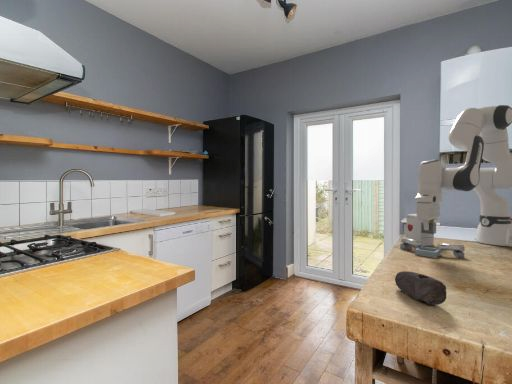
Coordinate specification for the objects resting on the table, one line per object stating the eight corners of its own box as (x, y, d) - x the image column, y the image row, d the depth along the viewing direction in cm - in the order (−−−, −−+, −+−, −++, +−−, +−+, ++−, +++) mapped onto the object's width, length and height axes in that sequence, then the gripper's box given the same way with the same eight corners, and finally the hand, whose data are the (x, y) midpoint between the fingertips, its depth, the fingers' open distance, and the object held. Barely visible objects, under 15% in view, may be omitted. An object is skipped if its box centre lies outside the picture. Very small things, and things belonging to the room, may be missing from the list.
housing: (420, 251, 125) (420, 246, 125) (440, 254, 120) (440, 249, 120) (414, 254, 120) (415, 249, 120) (435, 258, 114) (435, 252, 114)
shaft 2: (440, 256, 117) (440, 244, 116) (436, 254, 121) (436, 242, 121) (465, 258, 114) (465, 246, 114) (460, 255, 118) (460, 244, 118)
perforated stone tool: (388, 288, 82) (389, 265, 82) (403, 286, 84) (404, 264, 83) (431, 311, 68) (432, 283, 68) (448, 308, 69) (449, 281, 69)
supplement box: (405, 242, 143) (405, 214, 143) (418, 241, 146) (419, 213, 145) (420, 246, 135) (421, 216, 134) (434, 245, 137) (435, 215, 137)
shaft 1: (423, 252, 124) (423, 241, 124) (415, 252, 123) (416, 241, 123) (406, 247, 133) (407, 237, 133) (399, 248, 132) (399, 237, 131)
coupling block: (424, 231, 123) (424, 219, 122) (436, 232, 119) (436, 220, 119) (421, 232, 119) (421, 220, 119) (433, 234, 116) (433, 222, 116)
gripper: (428, 196, 128) (427, 225, 129) (413, 198, 114) (412, 231, 115) (444, 196, 124) (443, 227, 124) (431, 198, 110) (430, 233, 110)
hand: (428, 229), depth 119 cm, fingers closed on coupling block, 4 cm apart
